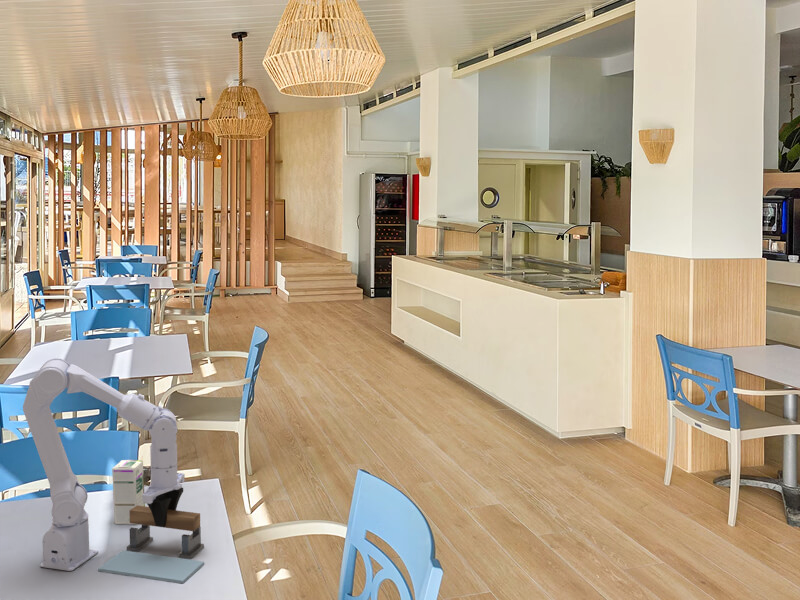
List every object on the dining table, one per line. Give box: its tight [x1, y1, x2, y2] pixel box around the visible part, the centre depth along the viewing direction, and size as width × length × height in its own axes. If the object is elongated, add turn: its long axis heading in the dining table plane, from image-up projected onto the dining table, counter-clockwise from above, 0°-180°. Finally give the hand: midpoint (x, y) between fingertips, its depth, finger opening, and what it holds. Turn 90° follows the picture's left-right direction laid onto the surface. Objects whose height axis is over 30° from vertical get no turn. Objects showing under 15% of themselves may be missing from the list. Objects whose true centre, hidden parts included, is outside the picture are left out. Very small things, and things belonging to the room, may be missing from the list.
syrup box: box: [111, 459, 146, 525], centre depth 190 cm, size 6×6×14 cm
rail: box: [130, 505, 201, 532], centre depth 174 cm, size 3×16×3 cm, turn 76°
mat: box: [97, 550, 205, 584], centre depth 166 cm, size 9×20×1 cm, turn 76°
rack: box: [126, 525, 205, 560], centre depth 175 cm, size 6×16×5 cm, turn 76°
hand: (164, 522), depth 174 cm, fingers closed on rail, 3 cm apart
